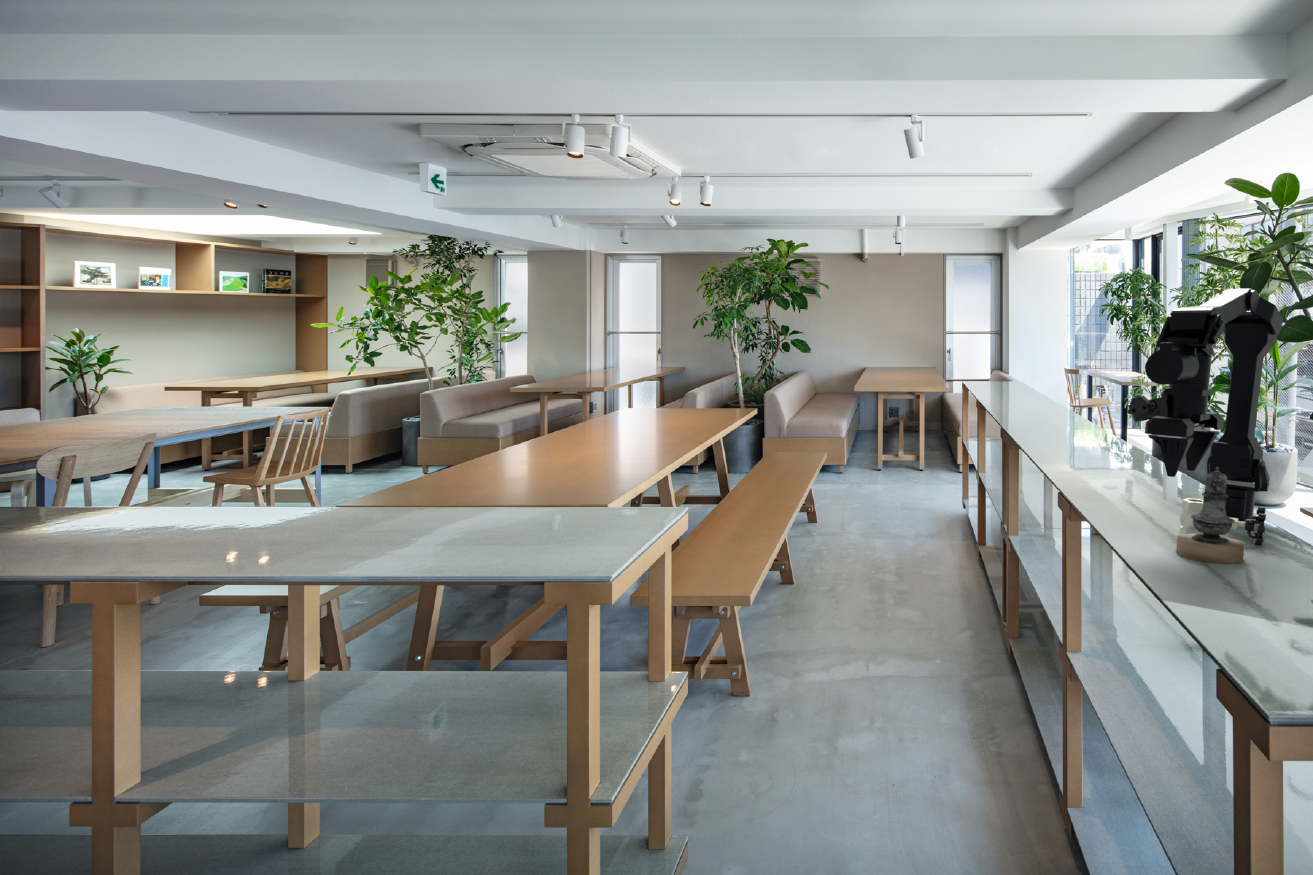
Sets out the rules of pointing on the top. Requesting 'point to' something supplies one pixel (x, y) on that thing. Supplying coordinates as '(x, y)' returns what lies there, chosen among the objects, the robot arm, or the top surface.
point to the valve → (1249, 525)
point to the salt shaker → (1213, 511)
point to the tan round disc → (1210, 550)
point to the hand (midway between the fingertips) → (1181, 473)
